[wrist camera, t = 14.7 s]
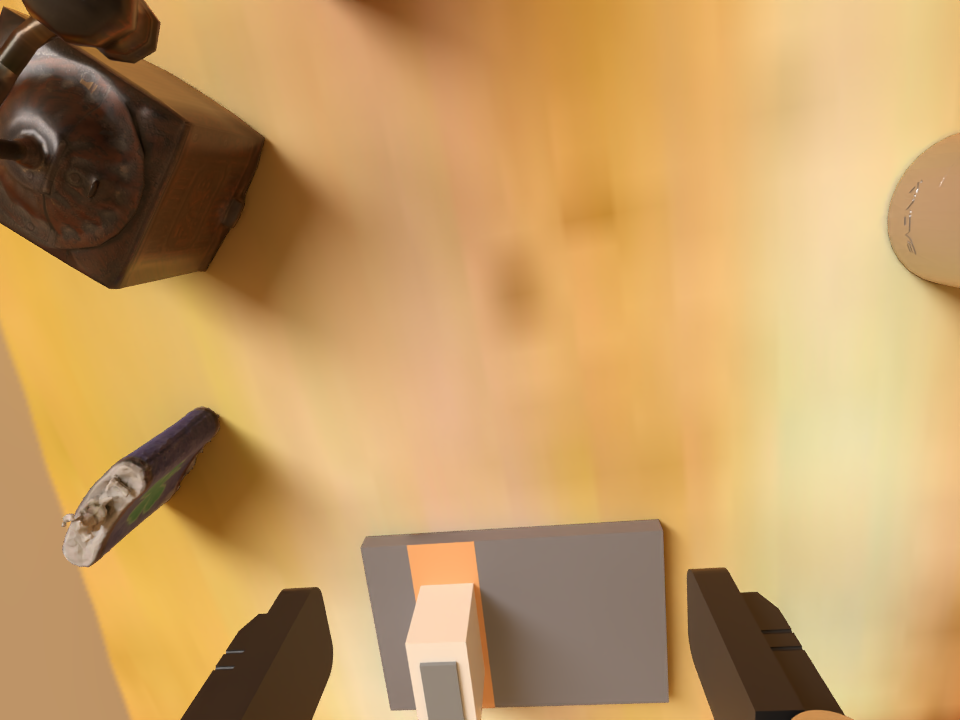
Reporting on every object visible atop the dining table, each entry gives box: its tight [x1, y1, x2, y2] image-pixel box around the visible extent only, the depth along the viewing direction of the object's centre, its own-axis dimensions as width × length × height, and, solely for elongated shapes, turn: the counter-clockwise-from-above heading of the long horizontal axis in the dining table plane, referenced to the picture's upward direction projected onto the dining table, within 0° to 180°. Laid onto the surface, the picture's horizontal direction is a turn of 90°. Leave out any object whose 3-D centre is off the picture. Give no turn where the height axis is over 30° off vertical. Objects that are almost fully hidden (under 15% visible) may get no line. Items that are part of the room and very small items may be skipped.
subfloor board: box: [361, 519, 669, 710], centre depth 45 cm, size 22×15×2 cm
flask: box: [62, 407, 220, 567], centre depth 39 cm, size 9×3×11 cm, turn 142°
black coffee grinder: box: [0, 0, 265, 289], centre depth 29 cm, size 16×11×18 cm
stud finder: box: [405, 583, 485, 720], centre depth 42 cm, size 4×8×6 cm, turn 6°
